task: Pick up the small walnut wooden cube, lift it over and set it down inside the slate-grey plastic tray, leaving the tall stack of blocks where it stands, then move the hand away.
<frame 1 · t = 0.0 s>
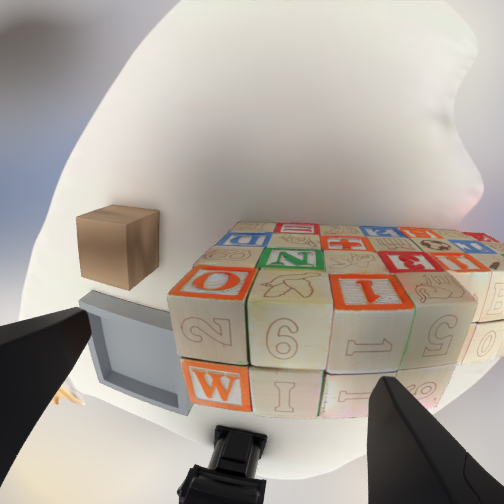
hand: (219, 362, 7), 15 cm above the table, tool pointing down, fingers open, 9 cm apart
walnut cube: (135, 235, 23), on the table
grey tray: (143, 350, 28), on the table
stack of blocks: (372, 262, 21), on the table
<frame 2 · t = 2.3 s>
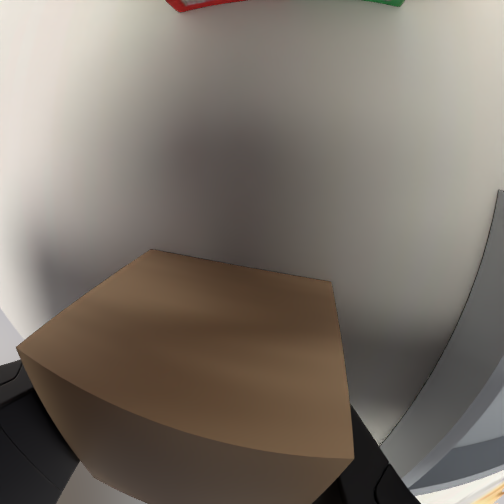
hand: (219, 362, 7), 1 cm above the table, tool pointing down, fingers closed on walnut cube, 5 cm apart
walnut cube: (228, 340, 8), on the table, touching gripper
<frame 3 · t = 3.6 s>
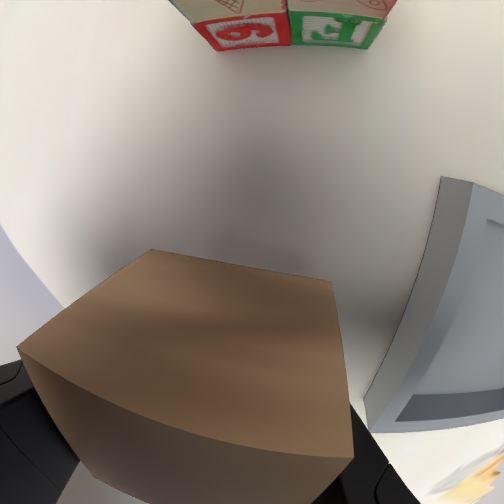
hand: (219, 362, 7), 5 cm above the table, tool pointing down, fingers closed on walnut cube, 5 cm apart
walnut cube: (228, 340, 8), point 4 cm above the table, touching gripper
grey tray: (491, 319, 10), on the table
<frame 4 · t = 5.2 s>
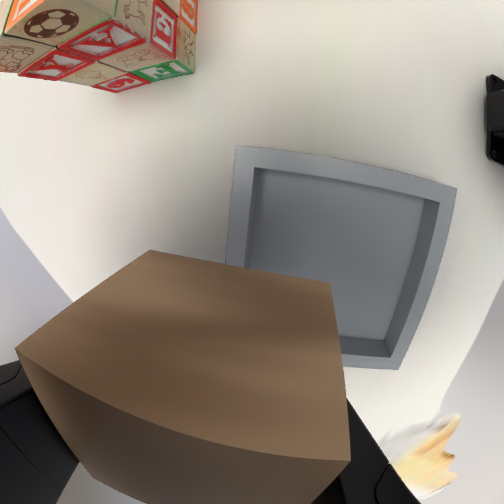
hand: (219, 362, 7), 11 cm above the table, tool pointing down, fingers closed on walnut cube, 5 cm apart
walnut cube: (227, 341, 8), point 10 cm above the table, touching gripper
grey tray: (332, 260, 17), on the table
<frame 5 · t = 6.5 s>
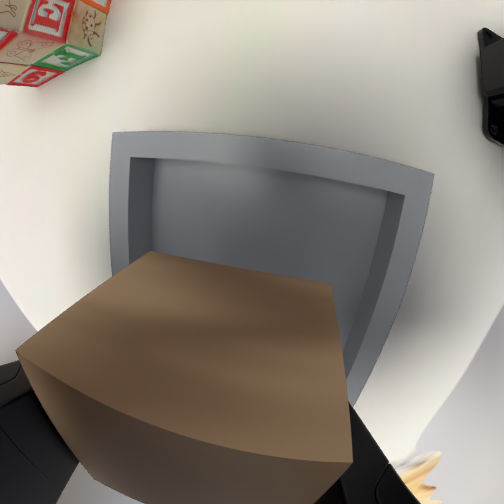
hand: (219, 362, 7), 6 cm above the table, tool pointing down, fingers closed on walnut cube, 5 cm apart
walnut cube: (228, 342, 8), point 5 cm above the table, touching gripper
grey tray: (254, 276, 13), on the table
when the fingers open (3 cm above the table, at t = 7.8 s): walnut cube drops 2 cm, resting on grey tray.
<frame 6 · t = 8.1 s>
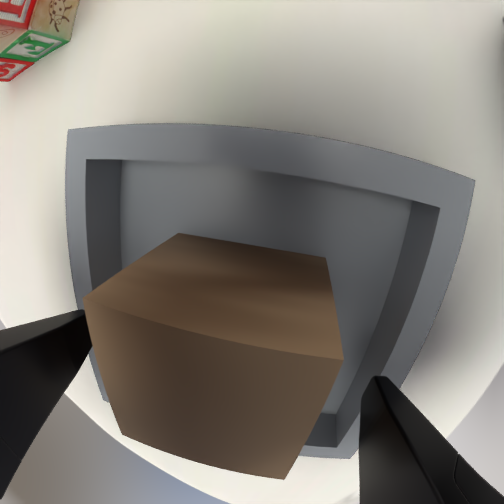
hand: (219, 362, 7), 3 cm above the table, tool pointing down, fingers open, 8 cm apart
walnut cube: (241, 310, 10), resting on grey tray
grey tray: (243, 303, 10), on the table
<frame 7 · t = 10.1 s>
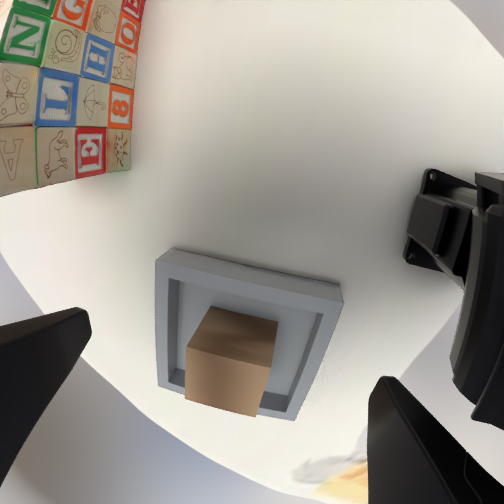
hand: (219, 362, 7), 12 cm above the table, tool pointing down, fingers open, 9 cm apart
walnut cube: (239, 340, 21), resting on grey tray
grey tray: (240, 336, 21), on the table
stack of blocks: (110, 49, 16), on the table
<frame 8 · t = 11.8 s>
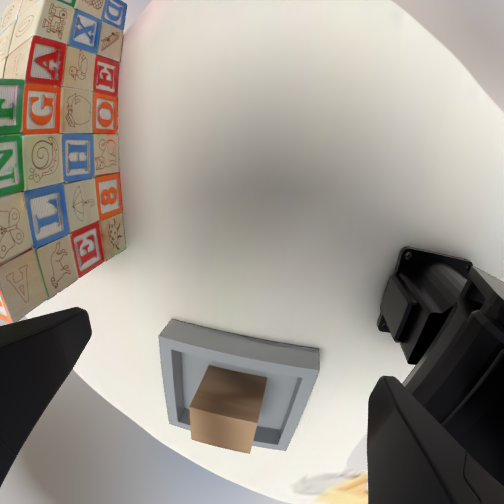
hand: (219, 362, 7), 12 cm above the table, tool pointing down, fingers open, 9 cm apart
walnut cube: (235, 390, 23), resting on grey tray
grey tray: (236, 386, 23), on the table
stack of blocks: (92, 123, 18), on the table
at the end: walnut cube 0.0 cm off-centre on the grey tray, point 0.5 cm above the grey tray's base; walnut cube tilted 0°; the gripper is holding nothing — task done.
